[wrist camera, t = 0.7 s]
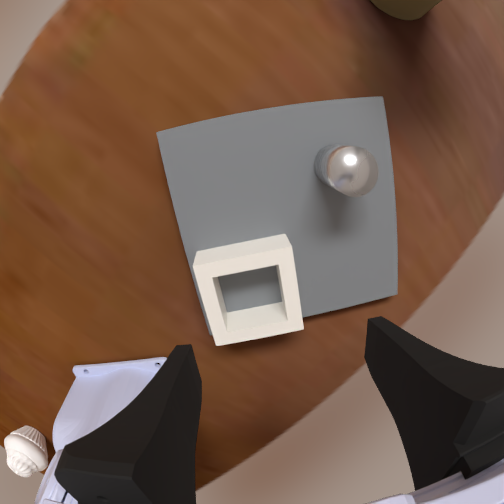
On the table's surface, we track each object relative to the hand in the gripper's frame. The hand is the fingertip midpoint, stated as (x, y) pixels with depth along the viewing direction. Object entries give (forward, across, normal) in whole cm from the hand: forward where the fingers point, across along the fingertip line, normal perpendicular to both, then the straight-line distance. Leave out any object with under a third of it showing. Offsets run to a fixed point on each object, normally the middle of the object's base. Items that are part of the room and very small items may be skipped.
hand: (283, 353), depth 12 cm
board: (+10, -2, -3) cm, 11 cm away
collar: (+9, +1, +1) cm, 9 cm away
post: (+9, -5, -6) cm, 12 cm away
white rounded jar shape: (+10, +30, +20) cm, 37 cm away
